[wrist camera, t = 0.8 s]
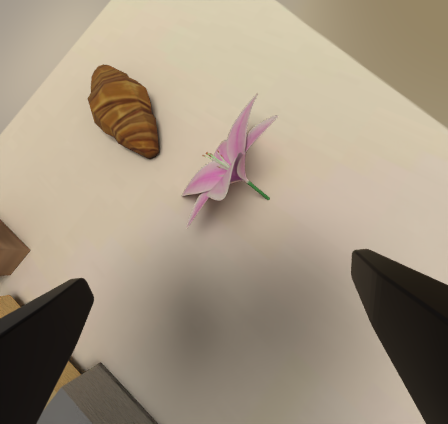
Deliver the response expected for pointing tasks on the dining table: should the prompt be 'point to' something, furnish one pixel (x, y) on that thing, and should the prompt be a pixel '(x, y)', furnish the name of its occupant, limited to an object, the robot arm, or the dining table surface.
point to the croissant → (123, 110)
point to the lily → (227, 162)
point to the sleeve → (94, 402)
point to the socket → (10, 250)
